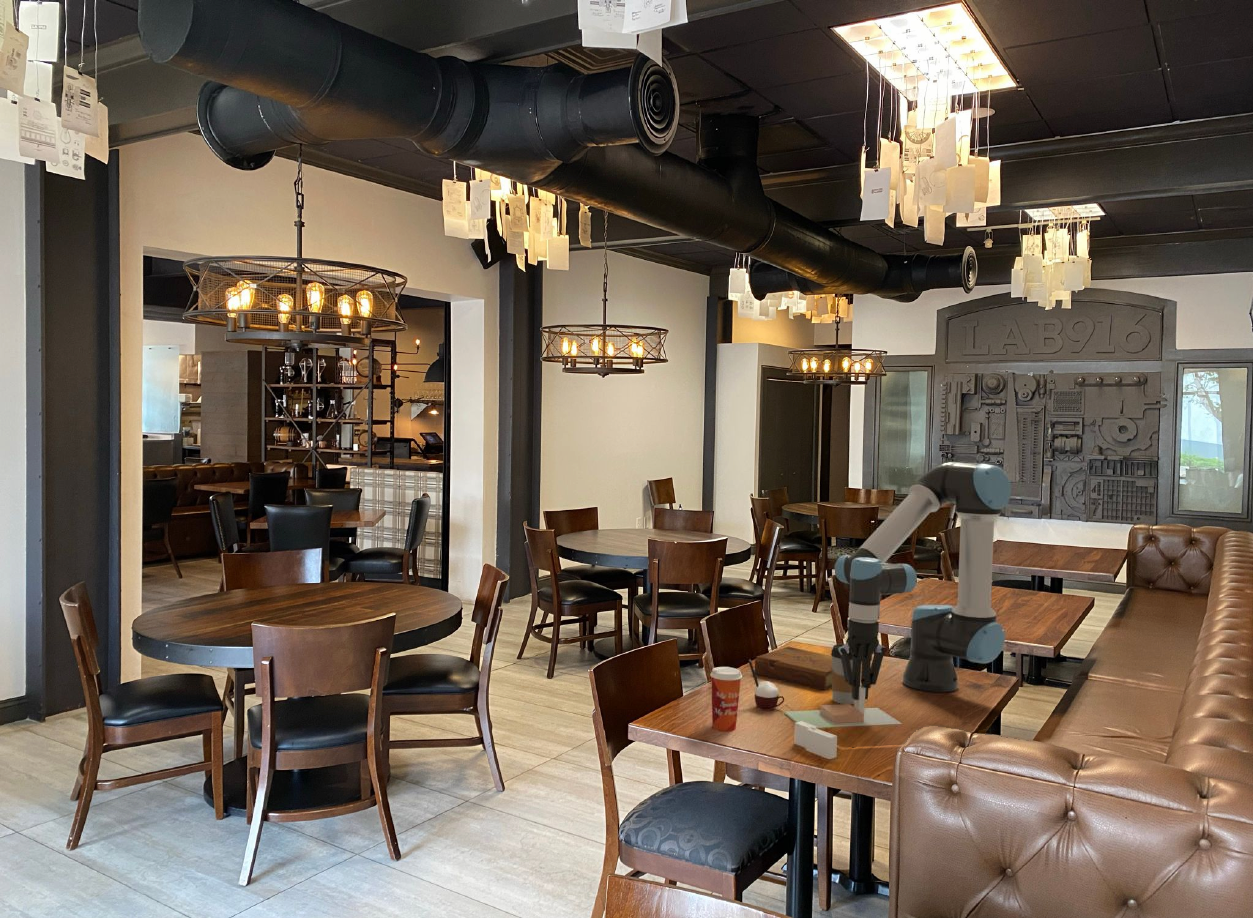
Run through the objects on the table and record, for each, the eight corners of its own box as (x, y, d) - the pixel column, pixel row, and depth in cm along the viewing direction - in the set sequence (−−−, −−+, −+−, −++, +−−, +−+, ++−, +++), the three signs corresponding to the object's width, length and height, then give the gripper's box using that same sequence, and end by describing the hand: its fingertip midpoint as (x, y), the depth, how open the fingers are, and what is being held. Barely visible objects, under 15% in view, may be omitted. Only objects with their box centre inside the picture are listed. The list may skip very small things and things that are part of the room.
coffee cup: (861, 709, 252) (864, 652, 251) (828, 706, 253) (831, 649, 253) (860, 700, 260) (862, 645, 259) (828, 697, 262) (831, 642, 261)
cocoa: (785, 709, 250) (790, 664, 250) (774, 714, 245) (779, 668, 245) (752, 700, 256) (757, 656, 255) (741, 705, 251) (746, 660, 250)
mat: (876, 709, 252) (877, 707, 252) (902, 725, 239) (902, 723, 239) (784, 713, 246) (784, 711, 246) (804, 730, 233) (804, 728, 233)
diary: (754, 676, 282) (755, 657, 282) (787, 665, 297) (788, 646, 296) (824, 692, 268) (825, 672, 267) (855, 679, 282) (856, 660, 282)
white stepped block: (847, 764, 213) (848, 738, 212) (795, 762, 213) (796, 737, 212) (833, 740, 228) (834, 717, 227) (785, 739, 228) (786, 715, 227)
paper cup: (715, 733, 228) (717, 675, 228) (703, 723, 236) (705, 666, 235) (745, 731, 231) (748, 674, 230) (733, 721, 238) (735, 665, 237)
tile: (849, 704, 247) (820, 705, 245) (863, 713, 239) (834, 715, 238) (848, 712, 247) (820, 713, 245) (863, 721, 239) (833, 723, 238)
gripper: (879, 616, 247) (875, 706, 249) (833, 616, 244) (828, 708, 245) (894, 622, 240) (889, 715, 241) (846, 623, 237) (842, 717, 238)
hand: (859, 712), depth 243 cm, fingers closed
